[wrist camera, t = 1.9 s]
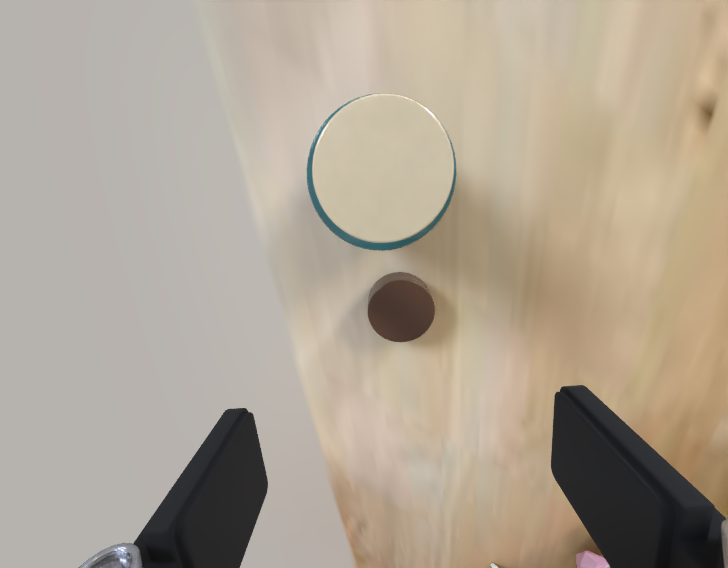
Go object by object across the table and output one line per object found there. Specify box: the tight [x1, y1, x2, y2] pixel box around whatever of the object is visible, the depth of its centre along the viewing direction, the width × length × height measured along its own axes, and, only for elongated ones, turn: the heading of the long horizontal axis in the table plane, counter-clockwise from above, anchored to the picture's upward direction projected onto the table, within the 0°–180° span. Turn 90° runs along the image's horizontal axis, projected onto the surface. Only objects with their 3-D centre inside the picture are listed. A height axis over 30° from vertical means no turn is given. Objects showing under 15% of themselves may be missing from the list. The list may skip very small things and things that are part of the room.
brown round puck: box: [368, 272, 435, 342], centre depth 27 cm, size 5×5×2 cm
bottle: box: [307, 93, 456, 251], centre depth 18 cm, size 7×7×15 cm
